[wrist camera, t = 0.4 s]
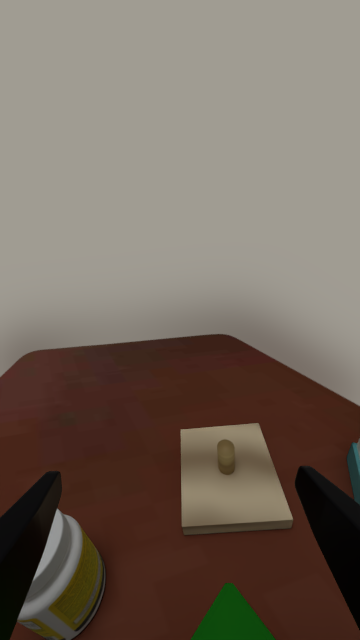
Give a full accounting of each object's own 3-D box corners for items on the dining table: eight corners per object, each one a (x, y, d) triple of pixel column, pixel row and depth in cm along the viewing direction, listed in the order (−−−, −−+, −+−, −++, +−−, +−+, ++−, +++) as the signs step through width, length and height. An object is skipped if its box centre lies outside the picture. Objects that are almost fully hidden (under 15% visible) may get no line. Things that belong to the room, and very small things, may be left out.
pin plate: (291, 528, 19) (297, 500, 17) (183, 535, 20) (177, 508, 17) (257, 431, 27) (259, 404, 25) (182, 438, 28) (177, 411, 25)
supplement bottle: (104, 537, 20) (72, 484, 16) (109, 617, 16) (68, 573, 12) (44, 568, 19) (-6, 518, 15) (34, 664, 15) (-38, 630, 11)
